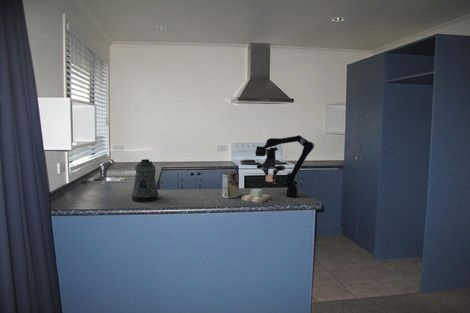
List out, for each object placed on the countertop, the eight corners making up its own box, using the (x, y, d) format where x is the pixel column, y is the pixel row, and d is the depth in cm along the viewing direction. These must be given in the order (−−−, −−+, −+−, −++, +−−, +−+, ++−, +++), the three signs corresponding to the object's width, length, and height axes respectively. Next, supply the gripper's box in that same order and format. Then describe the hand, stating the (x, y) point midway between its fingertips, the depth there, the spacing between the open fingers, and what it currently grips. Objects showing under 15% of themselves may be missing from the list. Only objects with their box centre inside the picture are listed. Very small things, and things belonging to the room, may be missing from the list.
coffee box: (233, 195, 228) (233, 171, 226) (238, 197, 223) (239, 172, 221) (221, 196, 222) (222, 172, 221) (227, 198, 217) (227, 174, 215)
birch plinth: (270, 198, 220) (270, 195, 219) (261, 202, 208) (261, 199, 208) (251, 195, 227) (251, 192, 227) (241, 199, 215) (241, 196, 215)
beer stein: (131, 202, 204) (130, 161, 201) (132, 195, 222) (131, 158, 220) (159, 201, 208) (158, 161, 205) (157, 194, 227) (157, 157, 224)
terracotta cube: (274, 180, 231) (274, 175, 230) (271, 181, 227) (272, 176, 226) (268, 180, 233) (268, 174, 232) (265, 181, 229) (266, 175, 229)
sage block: (262, 195, 218) (262, 189, 218) (258, 197, 213) (258, 191, 213) (254, 194, 221) (254, 188, 220) (250, 196, 216) (250, 190, 216)
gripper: (253, 156, 226) (252, 179, 228) (279, 158, 216) (278, 182, 218) (260, 155, 235) (260, 177, 237) (285, 157, 226) (284, 180, 228)
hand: (270, 179), depth 230 cm, fingers closed on terracotta cube, 4 cm apart
